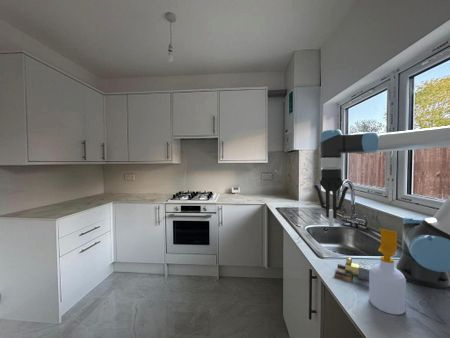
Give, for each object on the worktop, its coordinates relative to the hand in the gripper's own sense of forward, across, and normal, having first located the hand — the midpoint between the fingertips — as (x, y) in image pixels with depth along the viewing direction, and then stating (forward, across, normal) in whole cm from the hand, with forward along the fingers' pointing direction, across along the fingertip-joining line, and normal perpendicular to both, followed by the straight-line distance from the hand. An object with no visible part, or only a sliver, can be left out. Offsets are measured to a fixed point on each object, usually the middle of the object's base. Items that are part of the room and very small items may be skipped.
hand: (331, 225), depth 86 cm
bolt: (+17, -8, 0) cm, 19 cm away
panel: (+19, -8, 0) cm, 21 cm away
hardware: (+18, -8, 0) cm, 20 cm away
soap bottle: (+20, -18, +13) cm, 29 cm away
